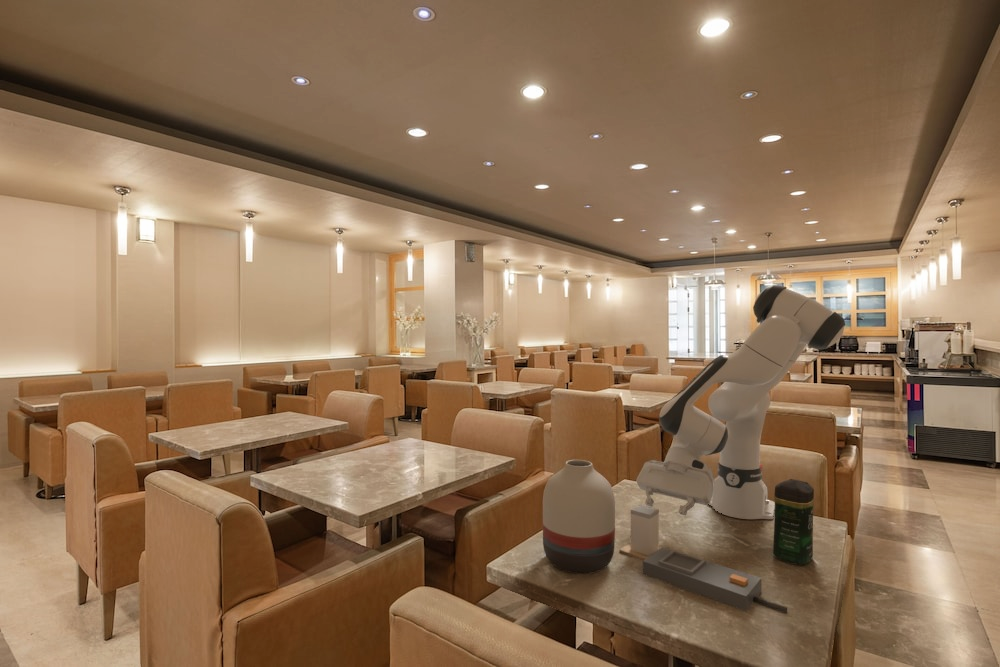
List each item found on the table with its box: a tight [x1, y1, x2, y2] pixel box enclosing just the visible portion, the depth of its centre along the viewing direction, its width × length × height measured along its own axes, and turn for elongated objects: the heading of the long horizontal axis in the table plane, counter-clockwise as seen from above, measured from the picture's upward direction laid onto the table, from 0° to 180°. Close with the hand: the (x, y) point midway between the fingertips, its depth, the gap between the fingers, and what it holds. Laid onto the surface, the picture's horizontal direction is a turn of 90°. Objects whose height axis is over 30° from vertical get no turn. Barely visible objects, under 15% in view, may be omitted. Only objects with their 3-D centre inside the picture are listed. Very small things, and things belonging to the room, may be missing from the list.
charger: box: [630, 504, 660, 556], centre depth 126 cm, size 5×5×10 cm
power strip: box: [642, 546, 789, 613], centre depth 108 cm, size 10×28×4 cm, turn 47°
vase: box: [542, 459, 616, 575], centre depth 120 cm, size 17×17×24 cm
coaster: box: [619, 542, 669, 561], centre depth 126 cm, size 9×9×1 cm
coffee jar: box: [772, 478, 815, 566], centre depth 123 cm, size 10×8×19 cm
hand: (664, 509), depth 135 cm, fingers open, 8 cm apart
